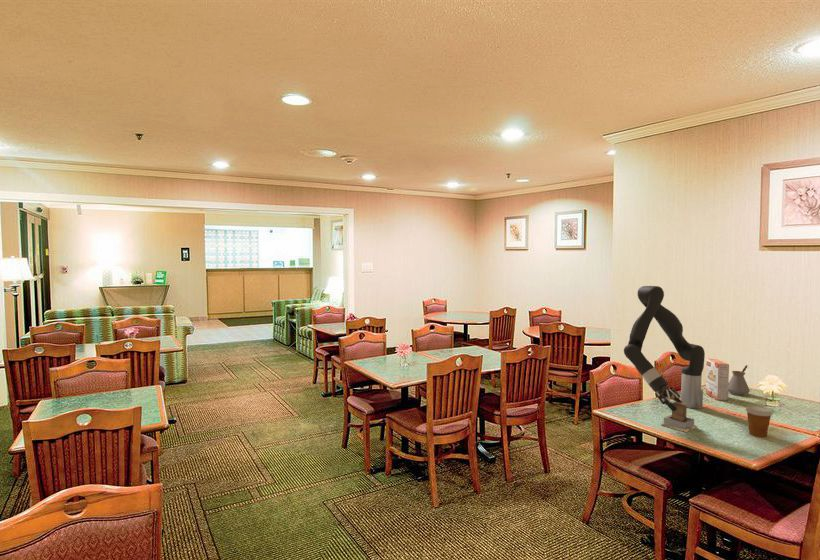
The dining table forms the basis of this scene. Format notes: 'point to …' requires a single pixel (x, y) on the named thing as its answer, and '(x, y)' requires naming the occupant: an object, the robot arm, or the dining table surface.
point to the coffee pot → (738, 383)
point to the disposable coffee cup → (758, 420)
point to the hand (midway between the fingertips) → (679, 408)
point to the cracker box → (717, 379)
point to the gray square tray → (679, 424)
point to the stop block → (679, 411)
